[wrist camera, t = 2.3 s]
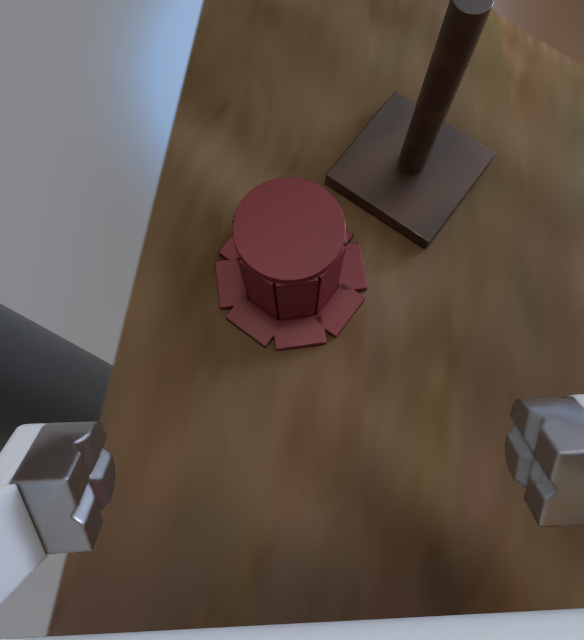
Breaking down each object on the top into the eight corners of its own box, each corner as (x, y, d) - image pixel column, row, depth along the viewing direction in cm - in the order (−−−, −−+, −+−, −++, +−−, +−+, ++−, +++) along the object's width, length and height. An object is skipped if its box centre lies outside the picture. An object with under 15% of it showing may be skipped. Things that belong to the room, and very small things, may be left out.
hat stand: (324, 183, 39) (340, 13, 25) (392, 101, 41) (444, -101, 26) (425, 249, 38) (506, 110, 23) (490, 161, 40) (603, -19, 25)
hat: (188, 290, 37) (159, 244, 29) (277, 185, 39) (272, 116, 31) (305, 378, 35) (307, 353, 27) (392, 263, 37) (417, 210, 30)
